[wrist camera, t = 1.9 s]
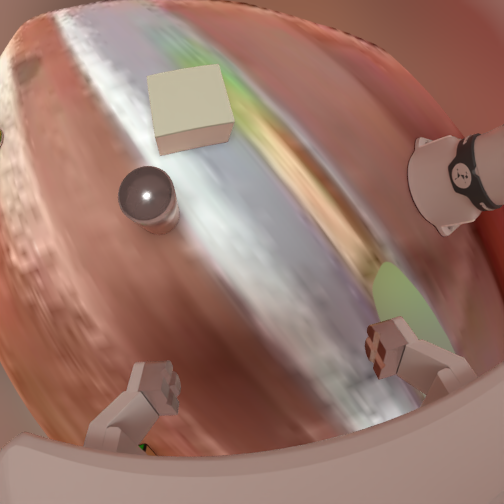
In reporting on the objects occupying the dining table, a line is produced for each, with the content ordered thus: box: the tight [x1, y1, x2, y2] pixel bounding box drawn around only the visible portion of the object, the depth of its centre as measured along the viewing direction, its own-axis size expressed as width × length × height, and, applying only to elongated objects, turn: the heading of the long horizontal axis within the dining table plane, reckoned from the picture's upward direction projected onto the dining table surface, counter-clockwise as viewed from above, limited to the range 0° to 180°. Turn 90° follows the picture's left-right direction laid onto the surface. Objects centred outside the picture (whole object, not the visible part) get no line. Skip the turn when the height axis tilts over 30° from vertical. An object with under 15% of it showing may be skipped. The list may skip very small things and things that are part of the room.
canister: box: [118, 166, 180, 235], centre depth 27 cm, size 5×5×11 cm
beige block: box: [147, 64, 235, 156], centre depth 31 cm, size 9×9×6 cm
